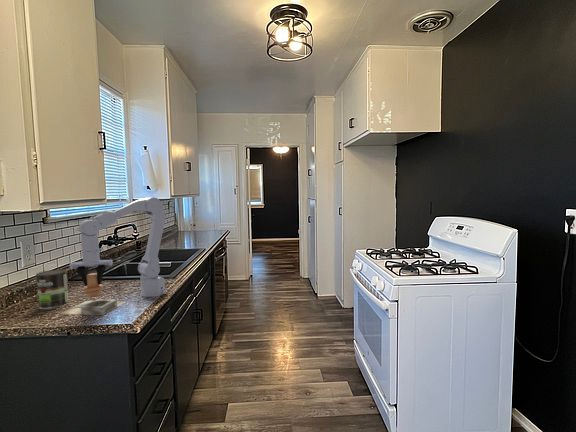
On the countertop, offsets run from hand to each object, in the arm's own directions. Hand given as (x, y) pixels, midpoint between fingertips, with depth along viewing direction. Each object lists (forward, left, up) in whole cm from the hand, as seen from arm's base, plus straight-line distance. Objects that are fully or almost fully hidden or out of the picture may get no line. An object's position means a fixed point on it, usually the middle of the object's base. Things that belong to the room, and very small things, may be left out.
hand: (93, 284), depth 126 cm
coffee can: (+22, -5, -11) cm, 25 cm away
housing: (0, 0, -10) cm, 10 cm away
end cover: (0, 0, -4) cm, 4 cm away
